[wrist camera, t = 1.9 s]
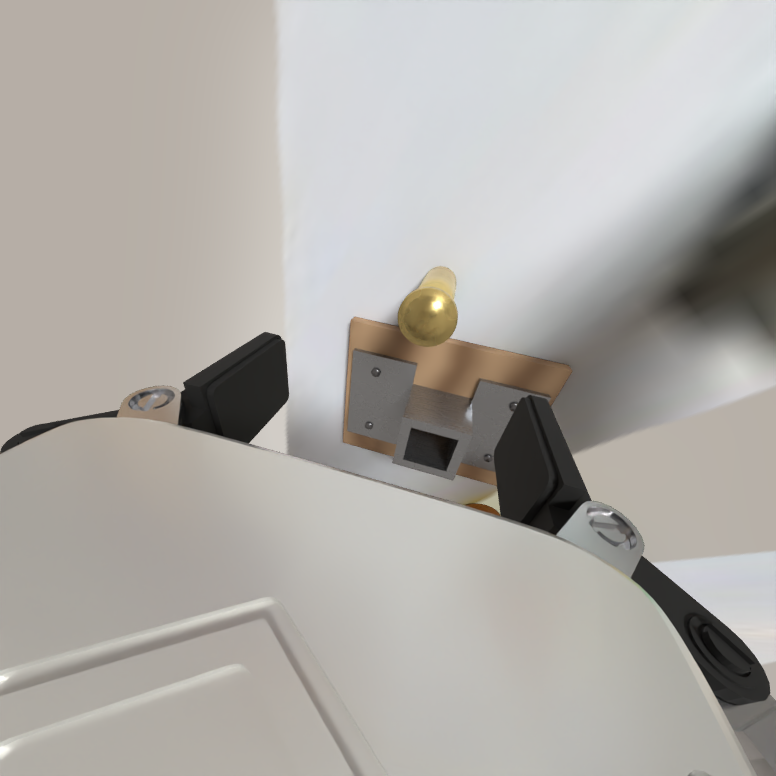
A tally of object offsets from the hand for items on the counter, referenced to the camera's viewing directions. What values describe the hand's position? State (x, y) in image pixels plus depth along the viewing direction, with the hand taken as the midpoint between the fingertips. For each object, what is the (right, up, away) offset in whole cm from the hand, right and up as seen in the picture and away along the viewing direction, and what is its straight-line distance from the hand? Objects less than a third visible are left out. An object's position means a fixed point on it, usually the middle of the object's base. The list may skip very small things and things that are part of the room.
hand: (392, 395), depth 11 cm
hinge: (+5, -3, +22) cm, 22 cm away
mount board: (+6, -2, +23) cm, 23 cm away
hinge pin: (+5, +10, +15) cm, 19 cm away
